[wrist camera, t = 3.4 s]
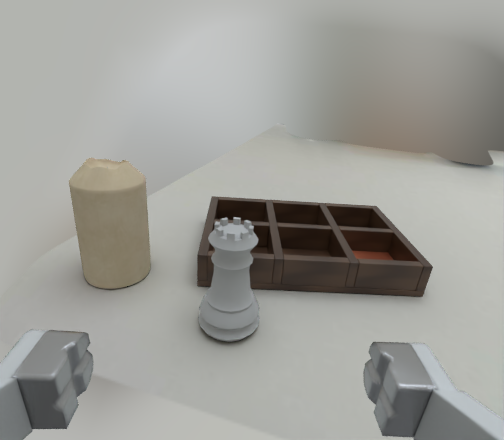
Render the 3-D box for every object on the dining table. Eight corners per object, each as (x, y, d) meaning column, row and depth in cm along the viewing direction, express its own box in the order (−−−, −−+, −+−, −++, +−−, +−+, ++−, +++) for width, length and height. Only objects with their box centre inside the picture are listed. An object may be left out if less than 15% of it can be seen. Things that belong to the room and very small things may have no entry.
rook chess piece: (213, 297, 28) (216, 206, 24) (266, 312, 26) (276, 218, 23) (187, 334, 24) (186, 232, 20) (247, 353, 23) (257, 248, 19)
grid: (197, 286, 29) (197, 254, 28) (211, 220, 41) (211, 196, 40) (422, 296, 30) (433, 266, 28) (371, 229, 42) (376, 205, 41)
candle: (156, 256, 33) (151, 153, 29) (142, 291, 28) (133, 172, 24) (98, 253, 32) (83, 149, 28) (72, 288, 27) (51, 168, 23)
